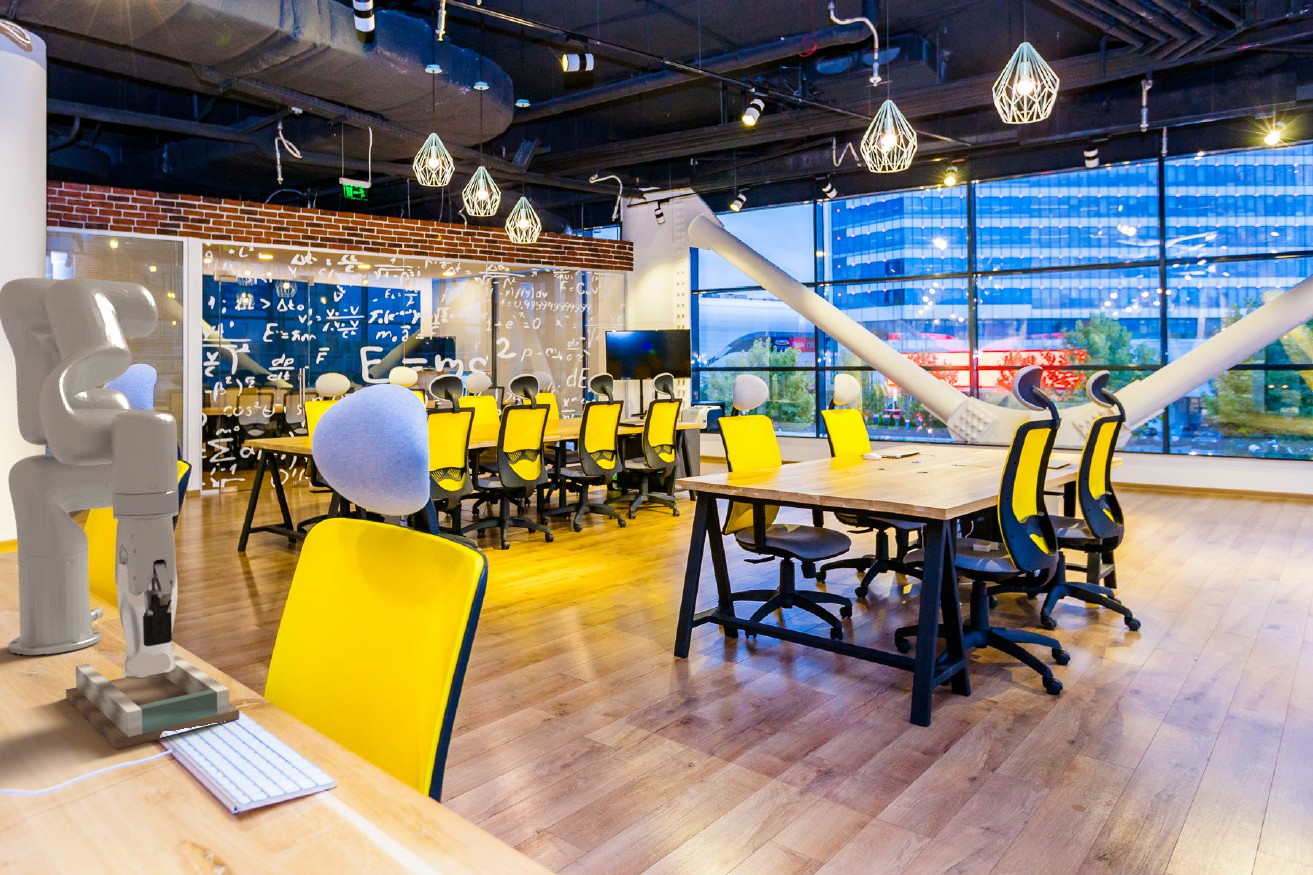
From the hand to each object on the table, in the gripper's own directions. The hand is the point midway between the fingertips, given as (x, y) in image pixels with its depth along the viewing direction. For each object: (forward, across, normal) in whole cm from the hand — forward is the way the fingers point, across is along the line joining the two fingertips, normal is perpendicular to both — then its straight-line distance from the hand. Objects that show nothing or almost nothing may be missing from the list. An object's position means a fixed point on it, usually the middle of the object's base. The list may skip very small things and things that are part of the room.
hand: (149, 637), depth 116 cm
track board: (+10, 0, 0) cm, 10 cm away
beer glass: (+5, 0, 0) cm, 5 cm away
